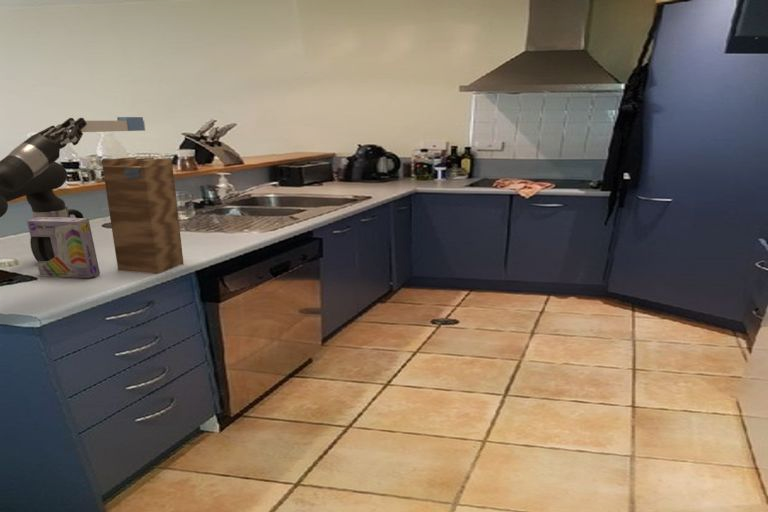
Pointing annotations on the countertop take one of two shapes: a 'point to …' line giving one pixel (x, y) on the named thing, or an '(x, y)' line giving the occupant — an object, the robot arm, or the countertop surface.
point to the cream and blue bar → (115, 125)
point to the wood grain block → (143, 213)
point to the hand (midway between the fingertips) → (78, 121)
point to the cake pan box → (63, 247)
